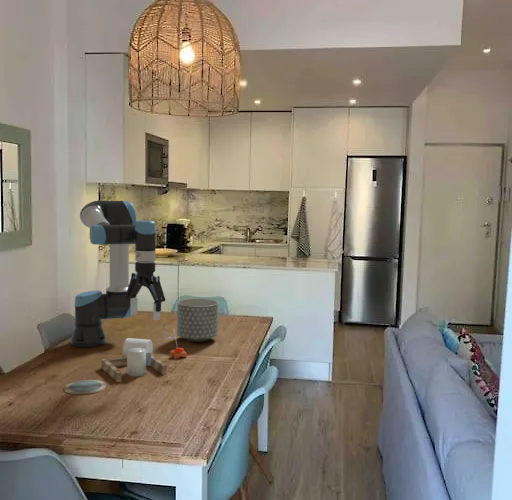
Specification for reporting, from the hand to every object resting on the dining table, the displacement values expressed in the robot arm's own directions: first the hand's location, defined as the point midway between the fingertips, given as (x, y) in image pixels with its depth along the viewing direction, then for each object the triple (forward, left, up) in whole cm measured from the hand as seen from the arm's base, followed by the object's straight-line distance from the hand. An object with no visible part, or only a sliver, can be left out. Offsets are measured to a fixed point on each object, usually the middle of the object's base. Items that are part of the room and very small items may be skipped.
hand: (145, 317), depth 205 cm
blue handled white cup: (0, -2, -21) cm, 22 cm away
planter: (-32, +39, -22) cm, 55 cm away
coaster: (+6, -24, -21) cm, 33 cm away
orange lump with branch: (-12, +19, -22) cm, 31 cm away
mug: (-20, +6, -22) cm, 30 cm away
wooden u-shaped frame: (-3, -3, -21) cm, 22 cm away
